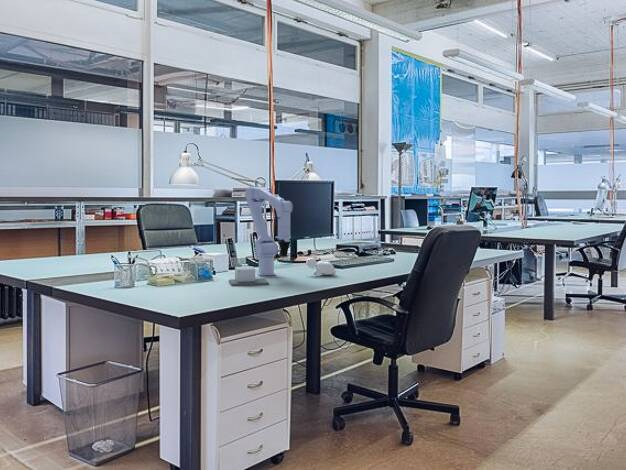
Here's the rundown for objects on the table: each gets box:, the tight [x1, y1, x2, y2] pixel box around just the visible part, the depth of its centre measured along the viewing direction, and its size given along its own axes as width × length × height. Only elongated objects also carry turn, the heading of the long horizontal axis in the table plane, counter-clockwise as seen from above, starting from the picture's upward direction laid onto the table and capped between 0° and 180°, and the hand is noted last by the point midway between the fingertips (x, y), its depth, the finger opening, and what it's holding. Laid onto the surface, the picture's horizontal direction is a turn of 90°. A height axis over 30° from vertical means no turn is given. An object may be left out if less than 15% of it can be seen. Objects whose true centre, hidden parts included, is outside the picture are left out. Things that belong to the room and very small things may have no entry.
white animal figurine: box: [305, 257, 337, 277], centre depth 283 cm, size 9×8×15 cm
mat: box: [228, 278, 270, 287], centre depth 257 cm, size 12×16×1 cm
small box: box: [234, 265, 256, 282], centre depth 259 cm, size 8×6×10 cm
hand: (284, 256), depth 271 cm, fingers closed
